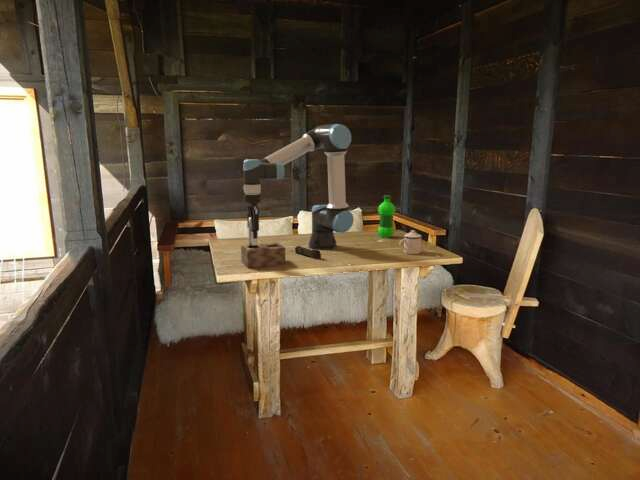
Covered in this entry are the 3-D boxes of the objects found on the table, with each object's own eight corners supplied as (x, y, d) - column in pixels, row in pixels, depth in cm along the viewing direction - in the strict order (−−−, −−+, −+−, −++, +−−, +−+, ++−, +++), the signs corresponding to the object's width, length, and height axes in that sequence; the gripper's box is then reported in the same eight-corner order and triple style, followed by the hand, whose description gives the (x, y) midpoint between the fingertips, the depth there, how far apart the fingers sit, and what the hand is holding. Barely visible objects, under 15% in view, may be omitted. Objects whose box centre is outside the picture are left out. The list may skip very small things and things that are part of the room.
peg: (256, 250, 225) (255, 216, 222) (258, 252, 222) (258, 217, 218) (248, 250, 224) (247, 217, 221) (250, 252, 220) (249, 218, 217)
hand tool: (294, 253, 246) (294, 244, 245) (301, 252, 248) (300, 243, 248) (315, 261, 231) (315, 252, 230) (322, 260, 234) (322, 251, 233)
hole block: (277, 258, 235) (277, 242, 233) (285, 264, 224) (285, 247, 222) (241, 261, 228) (240, 244, 226) (247, 268, 217) (247, 250, 215)
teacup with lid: (415, 250, 255) (416, 228, 253) (424, 253, 247) (425, 231, 244) (395, 251, 252) (396, 229, 249) (403, 255, 243) (404, 232, 241)
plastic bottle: (374, 235, 292) (375, 194, 287) (390, 235, 295) (392, 194, 290) (380, 239, 283) (381, 196, 278) (397, 238, 285) (398, 196, 280)
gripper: (239, 192, 224) (241, 241, 228) (248, 196, 208) (250, 248, 213) (255, 191, 226) (256, 239, 231) (265, 195, 211) (266, 247, 216)
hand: (253, 243), depth 222 cm, fingers closed on peg, 4 cm apart
